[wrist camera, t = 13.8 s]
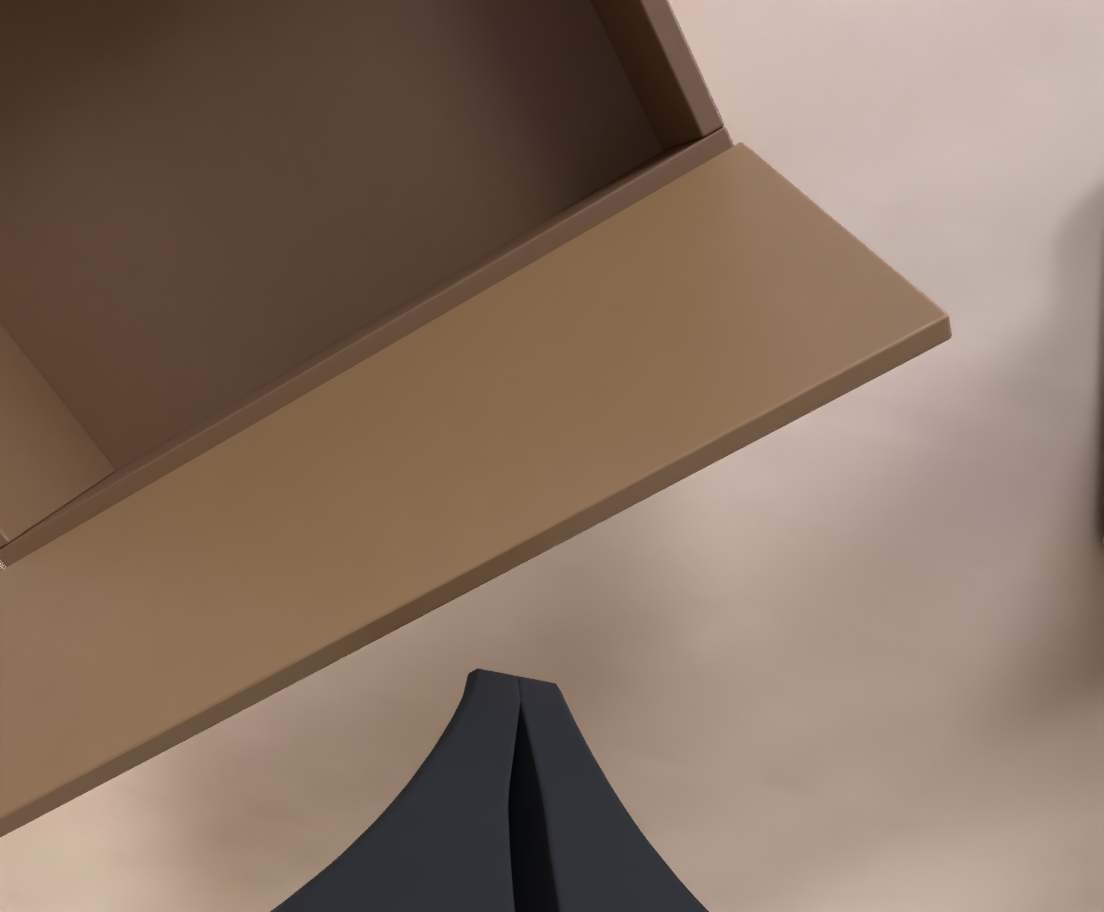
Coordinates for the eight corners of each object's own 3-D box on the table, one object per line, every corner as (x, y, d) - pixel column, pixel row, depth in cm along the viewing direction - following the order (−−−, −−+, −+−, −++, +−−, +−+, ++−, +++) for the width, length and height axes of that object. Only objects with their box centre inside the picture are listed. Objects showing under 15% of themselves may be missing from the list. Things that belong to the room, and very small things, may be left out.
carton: (410, -419, 14) (359, -683, 10) (684, 160, 17) (736, 148, 13) (-229, 40, 16) (-500, -14, 12) (123, 487, 19) (8, 570, 15)
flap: (950, 314, 8) (954, 339, 8) (741, 140, 12) (747, 160, 12) (-144, 892, 10) (-116, 899, 10) (-21, 581, 14) (-2, 592, 14)
